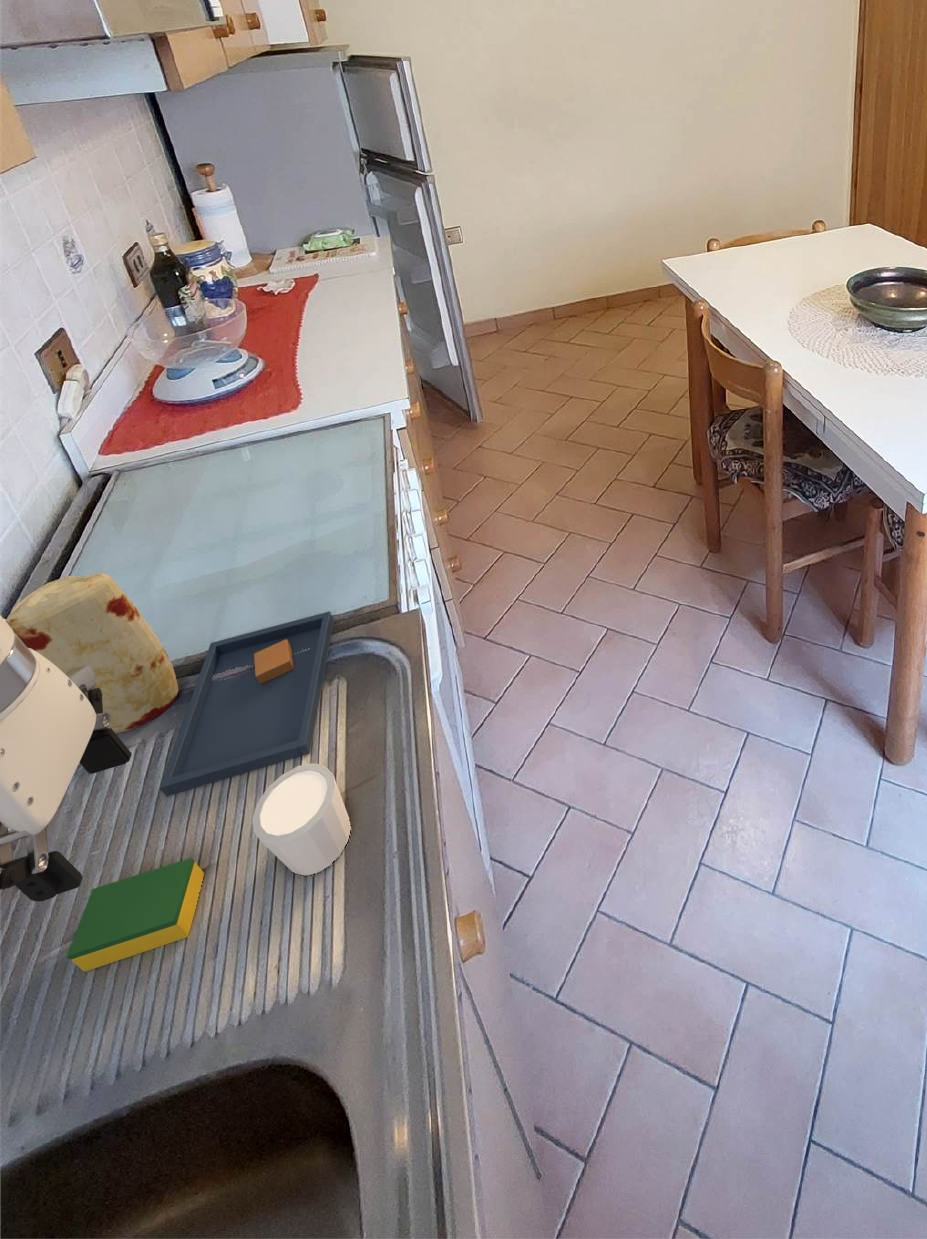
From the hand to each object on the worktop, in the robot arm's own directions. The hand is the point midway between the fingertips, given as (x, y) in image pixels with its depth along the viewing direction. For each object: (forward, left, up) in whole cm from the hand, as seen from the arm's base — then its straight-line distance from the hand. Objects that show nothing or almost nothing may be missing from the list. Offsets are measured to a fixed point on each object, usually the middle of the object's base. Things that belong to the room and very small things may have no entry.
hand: (87, 822), depth 58 cm
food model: (-9, +22, -14) cm, 27 cm away
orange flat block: (+5, +23, -13) cm, 27 cm away
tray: (+4, +19, -14) cm, 24 cm away
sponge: (-1, -1, -14) cm, 14 cm away
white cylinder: (+13, +1, -14) cm, 19 cm away
